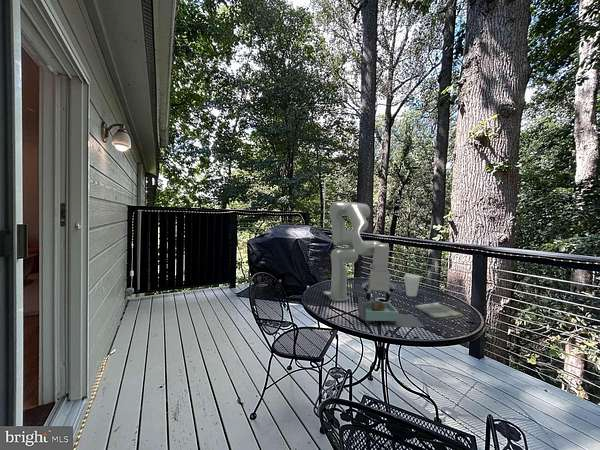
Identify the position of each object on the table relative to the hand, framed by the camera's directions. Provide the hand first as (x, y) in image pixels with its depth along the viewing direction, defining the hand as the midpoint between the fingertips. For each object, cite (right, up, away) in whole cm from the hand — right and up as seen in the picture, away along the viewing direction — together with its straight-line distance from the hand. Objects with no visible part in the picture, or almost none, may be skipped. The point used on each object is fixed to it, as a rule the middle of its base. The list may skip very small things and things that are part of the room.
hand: (377, 300), depth 153 cm
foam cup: (+34, -8, +45) cm, 57 cm away
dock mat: (+12, -10, 0) cm, 16 cm away
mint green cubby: (0, -10, 0) cm, 10 cm away
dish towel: (+38, -11, +14) cm, 42 cm away
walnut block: (0, -6, 0) cm, 6 cm away
